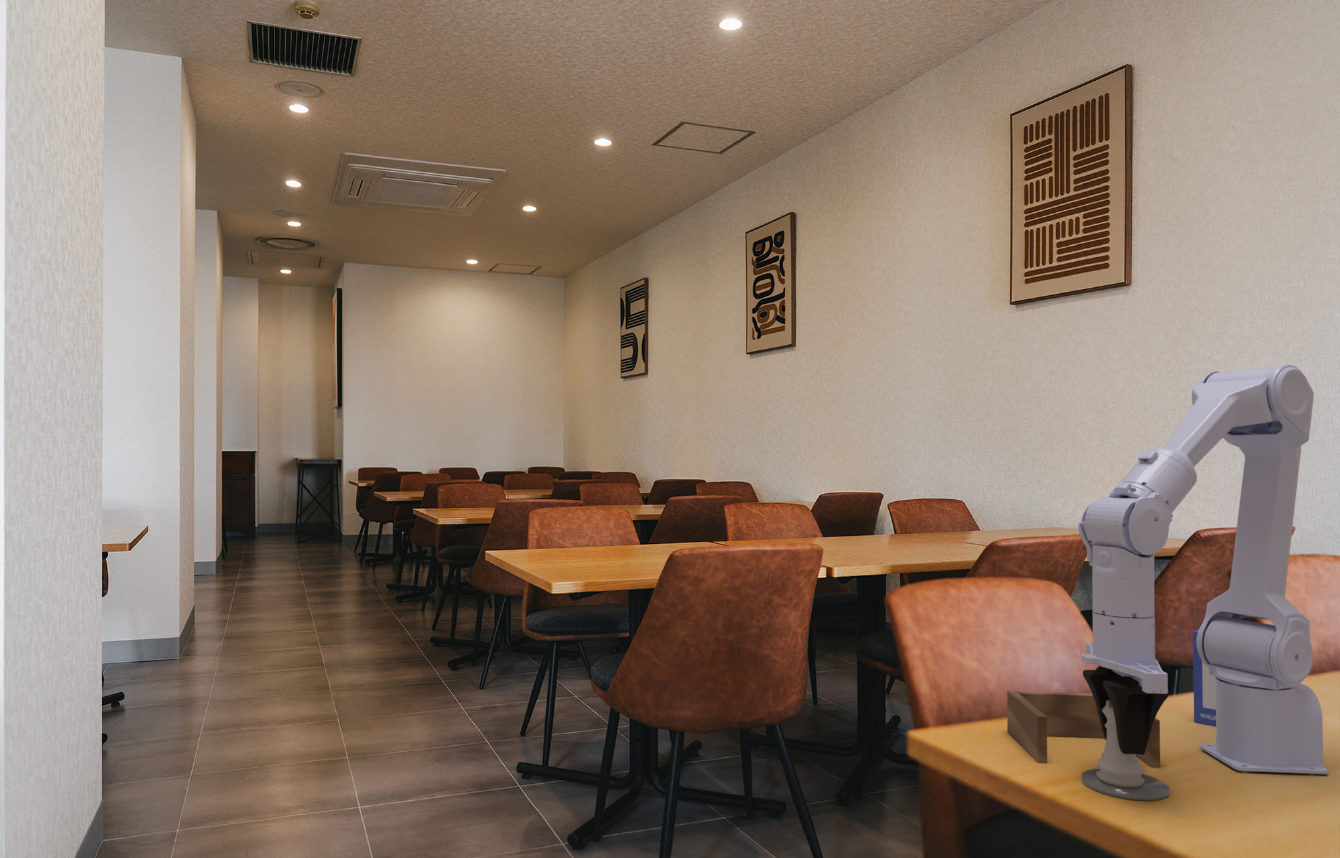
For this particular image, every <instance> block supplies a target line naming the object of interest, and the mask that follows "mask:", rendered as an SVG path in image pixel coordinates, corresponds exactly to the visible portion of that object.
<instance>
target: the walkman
mask: <svg viewBox="0 0 1340 858" xmlns="http://www.w3.org/2000/svg"><path fill="white" fill-rule="evenodd" d="M1198 631H1199V628H1198V629H1196V630H1193V631H1192V646H1193V647H1192V649H1193V652H1192V653H1193V656H1192V657H1193V658H1192V659H1193V660H1192V661H1193V663H1192V664H1193V665H1192V667H1193V723H1197V724H1198V723H1199V724H1204V725H1209V726H1214V727H1216V677H1215V676H1212V675H1209V667H1208V666H1206V665H1205V664H1204V663H1203V662H1202V660H1201V658H1200V656H1199V653H1198V650H1197V634H1198Z"/></svg>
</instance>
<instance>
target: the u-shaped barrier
mask: <svg viewBox="0 0 1340 858" xmlns="http://www.w3.org/2000/svg"><path fill="white" fill-rule="evenodd" d="M1006 697H1007V699H1006V701H1007V702H1006V703H1007V705H1006V708H1007V710H1006V711H1007V716H1006V717H1007V734H1009V735H1010V736H1011V737H1012V738H1013V740H1015V741H1016V742H1017V743H1018V744H1019V746H1021V747H1022V748H1023V750H1024V751H1026V752H1027V753H1028V754H1029V755H1030V756H1031V757H1032V758H1033V759H1034V760H1035V761H1036V762H1037V763H1045V764H1046V763H1048V737H1063V738H1064V737H1065V738H1067V737H1068V738H1091V739H1092V738H1093V739H1105V738H1104V734H1103V731H1102V727H1101V722H1100V718H1099V714H1098V710H1097V706H1096V703H1095V700H1094V697H1093V694H1092V693H1083V692H1081V693H1078V692H1077V693H1076V692H1051V691H1050V692H1049V691H1047V692H1046V691H1019V690H1018V691H1015V690H1014V691H1013V690H1007V696H1006ZM1160 722H1161V721H1160V720H1159V719H1158V718H1157V717H1155V720H1154V722H1153V725H1152V729H1151V732H1150V736H1149V740H1148V744H1147V748H1146V751H1145V754H1144V755H1139V754H1136V757H1137V758H1138V759H1139V760H1142V762H1144V763H1145V764H1146V765H1148V766H1150V767H1152V768H1153V767H1154V768H1155V767H1157V768H1160V767H1161V723H1160Z"/></svg>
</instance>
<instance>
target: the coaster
mask: <svg viewBox="0 0 1340 858" xmlns="http://www.w3.org/2000/svg"><path fill="white" fill-rule="evenodd" d="M1099 770H1100V769H1099V768H1092V769H1087V770H1086V771H1083V772H1082V773H1081V782H1082V783H1083V785H1085V786H1086V787H1088V788H1089V789H1091V790H1093V791H1095V792H1097V793H1099V794H1103V795H1107V796H1110V797H1115V798H1118V799H1124V800H1131V801H1144V802H1148V801H1149V802H1150V801H1159V800H1160V801H1161V800H1164V799H1167V798H1168V797H1169V796H1170V787H1169V785H1168V784H1167V783H1165V782H1164V781H1162V780H1160V779H1158V778H1155V777H1153V776H1151V775H1148V774H1144V773H1143V774H1142V775H1141V777H1142V778H1143V779H1144V783H1143V784H1142V786H1140V787H1139V788H1133V789H1129V788H1119V787H1114V786H1111V785H1108V784H1105V783H1103V782H1102V781H1101V780H1100V779H1099V778H1098V776H1097V775H1096V773H1097V771H1099Z"/></svg>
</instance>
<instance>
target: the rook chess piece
mask: <svg viewBox="0 0 1340 858" xmlns="http://www.w3.org/2000/svg"><path fill="white" fill-rule="evenodd" d="M1102 711H1103V713H1104V714H1105V716H1106V717H1107V723H1106V724H1105V727H1106V728H1107V739H1106V740H1105V746H1104V747H1105V748H1104V750H1103V753H1101V757H1100V758H1099V759H1098V760H1097V763H1096V766H1097V769H1100V770H1099V771H1097V773H1096V775H1097V776H1098V778H1099V779H1100V780H1101V781H1102V782H1103V783H1105V784H1108V785H1111V786H1114V787H1119V788H1129V789H1133V788H1139V787H1140V786H1142V784H1143V783H1144V779H1143V778H1142V777H1141V775H1142V774H1144V773H1145V772H1144V767H1143V765H1141V763H1140V762H1139V761H1140V758H1138V757H1137V756H1136V754H1123V753H1122V752H1121V750H1120V747H1119V743H1118V738H1117V730H1116V721H1115V716H1114V711H1113V707H1112V704H1111V701H1110V700H1107V701H1106V706H1105V707H1104V708H1103V709H1102Z"/></svg>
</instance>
